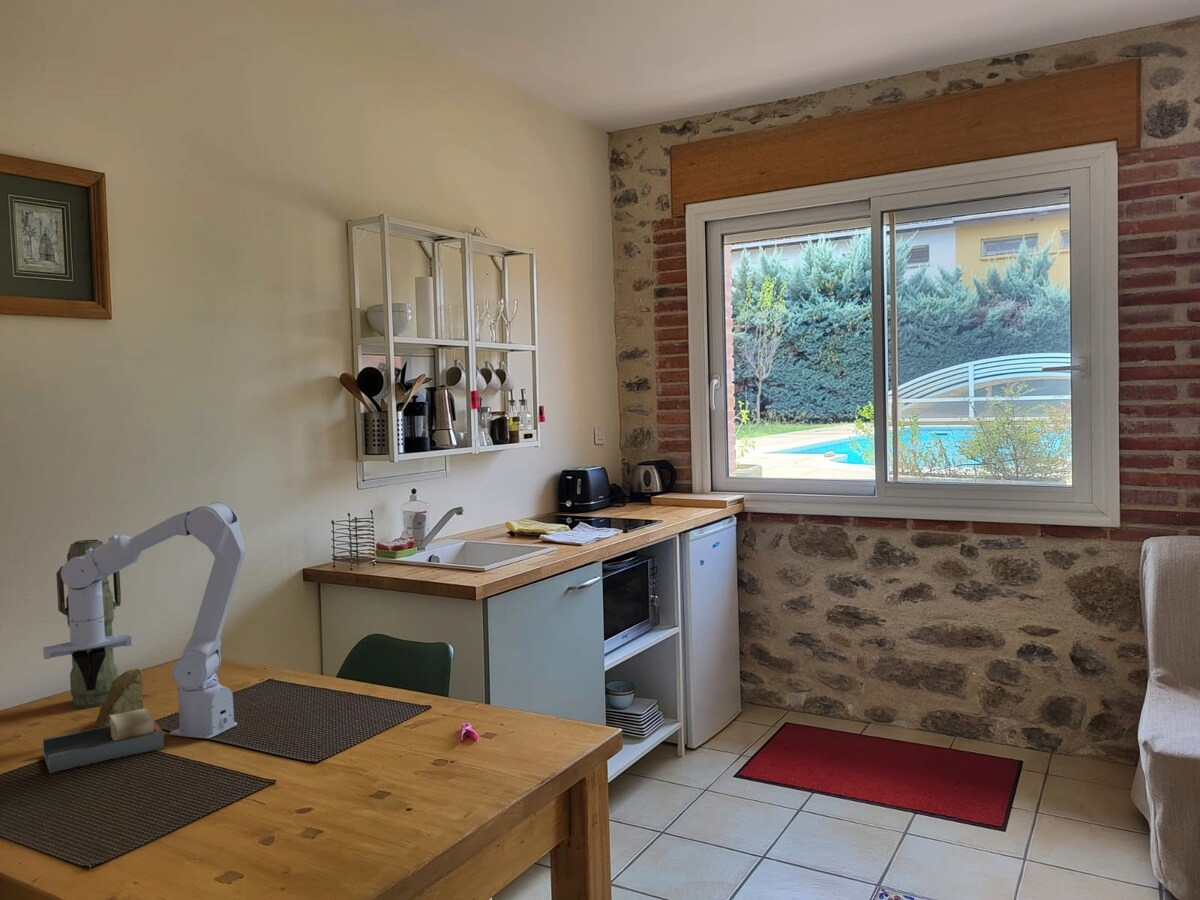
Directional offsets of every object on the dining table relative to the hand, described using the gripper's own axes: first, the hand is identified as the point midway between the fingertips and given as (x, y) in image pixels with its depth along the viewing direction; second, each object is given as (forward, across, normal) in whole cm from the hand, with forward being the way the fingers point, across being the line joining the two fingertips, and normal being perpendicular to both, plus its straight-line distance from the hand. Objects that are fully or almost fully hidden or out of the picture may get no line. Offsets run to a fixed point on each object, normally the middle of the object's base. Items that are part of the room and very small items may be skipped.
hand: (90, 689), depth 170 cm
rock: (+10, -6, -9) cm, 14 cm away
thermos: (+10, -3, -26) cm, 28 cm away
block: (+8, -5, +10) cm, 14 cm away
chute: (+9, -1, +10) cm, 14 cm away
